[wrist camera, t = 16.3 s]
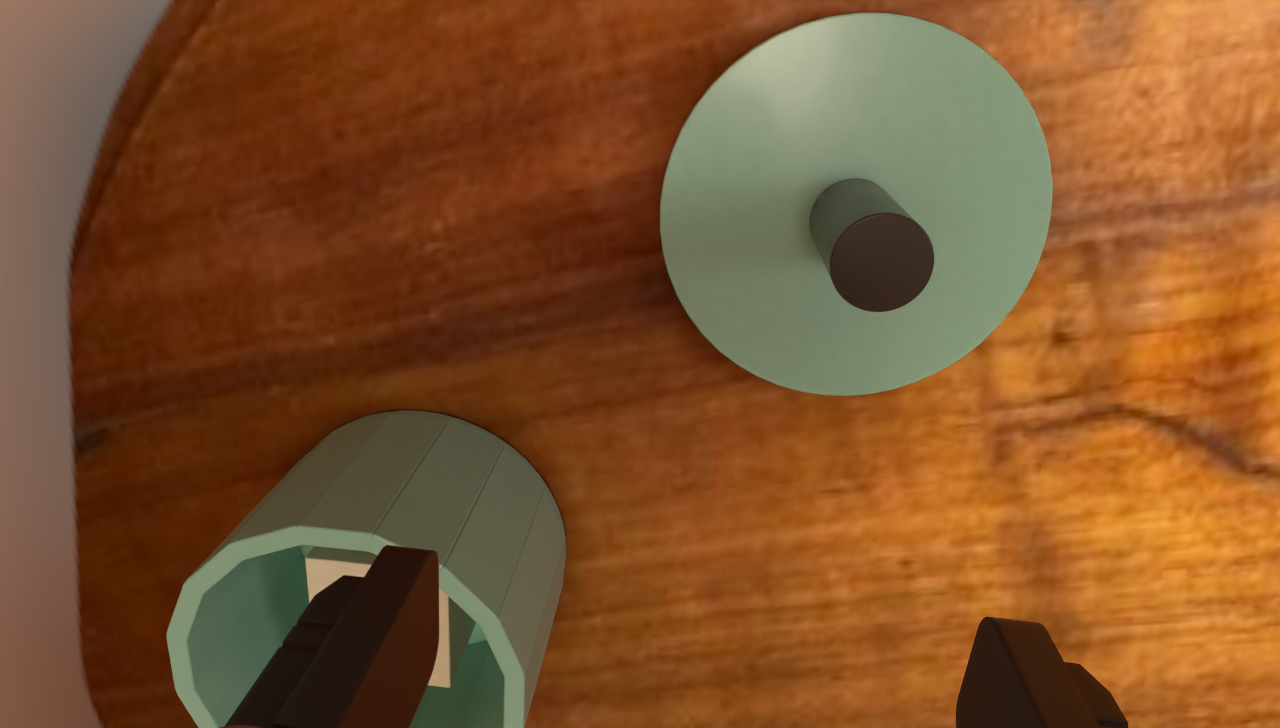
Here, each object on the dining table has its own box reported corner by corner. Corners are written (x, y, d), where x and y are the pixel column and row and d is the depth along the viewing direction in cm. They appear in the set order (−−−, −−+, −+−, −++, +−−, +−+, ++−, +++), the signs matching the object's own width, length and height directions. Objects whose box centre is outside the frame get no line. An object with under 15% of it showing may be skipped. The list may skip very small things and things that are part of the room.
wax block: (366, 589, 32) (315, 673, 28) (359, 485, 30) (304, 557, 26) (484, 602, 31) (450, 688, 27) (484, 497, 30) (448, 573, 26)
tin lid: (648, 365, 28) (632, 449, 22) (677, -2, 24) (666, -10, 18) (992, 398, 27) (1062, 492, 22) (1083, 28, 23) (1196, 30, 18)
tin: (300, 637, 33) (192, 796, 26) (276, 395, 29) (143, 509, 23) (561, 666, 33) (520, 837, 26) (572, 425, 29) (527, 550, 22)
